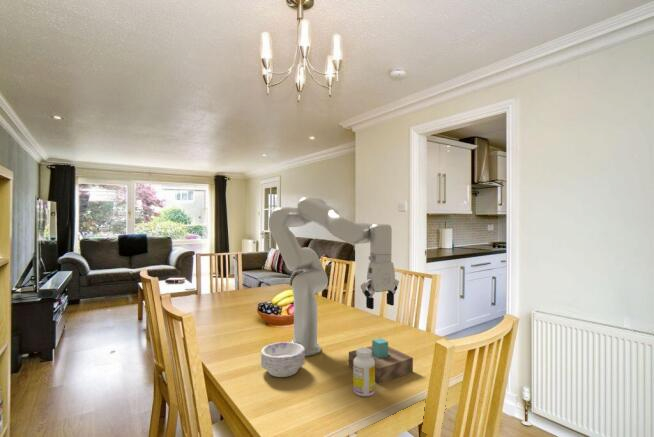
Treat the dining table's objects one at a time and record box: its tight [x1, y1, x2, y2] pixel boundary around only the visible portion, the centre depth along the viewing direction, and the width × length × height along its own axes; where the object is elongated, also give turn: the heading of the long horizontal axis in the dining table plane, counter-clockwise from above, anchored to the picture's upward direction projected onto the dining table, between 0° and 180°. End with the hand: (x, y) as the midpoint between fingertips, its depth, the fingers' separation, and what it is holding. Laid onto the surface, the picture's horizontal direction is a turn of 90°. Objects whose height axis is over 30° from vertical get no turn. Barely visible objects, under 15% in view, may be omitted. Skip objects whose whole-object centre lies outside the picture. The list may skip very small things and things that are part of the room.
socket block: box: [348, 345, 414, 385], centre depth 118 cm, size 16×16×5 cm
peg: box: [371, 337, 389, 359], centre depth 118 cm, size 4×4×10 cm
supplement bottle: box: [352, 347, 376, 397], centre depth 102 cm, size 7×7×13 cm
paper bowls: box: [260, 341, 306, 378], centre depth 116 cm, size 15×15×8 cm
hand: (380, 306), depth 118 cm, fingers open, 9 cm apart
